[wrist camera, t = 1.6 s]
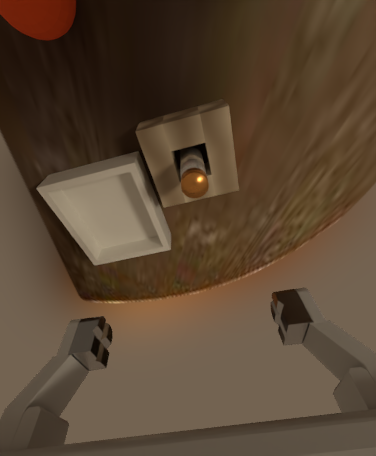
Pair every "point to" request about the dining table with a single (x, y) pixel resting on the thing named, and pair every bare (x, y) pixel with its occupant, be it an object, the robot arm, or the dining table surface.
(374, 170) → the dining table surface
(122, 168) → the tray
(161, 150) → the block
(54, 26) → the clementine
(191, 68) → the dining table surface
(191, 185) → the pin
